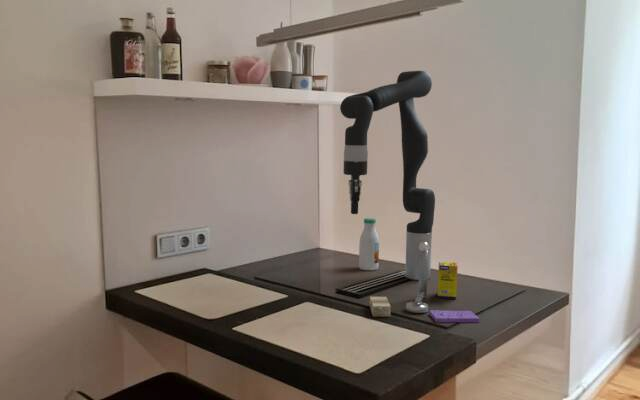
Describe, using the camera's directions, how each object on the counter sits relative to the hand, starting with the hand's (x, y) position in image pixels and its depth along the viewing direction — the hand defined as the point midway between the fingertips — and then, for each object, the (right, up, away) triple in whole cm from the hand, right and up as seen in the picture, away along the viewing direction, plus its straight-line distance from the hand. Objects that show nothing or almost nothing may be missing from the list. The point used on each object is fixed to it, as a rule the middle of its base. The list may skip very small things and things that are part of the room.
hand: (354, 213), depth 178 cm
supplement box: (+31, -27, +4) cm, 41 cm away
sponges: (+28, -30, -18) cm, 45 cm away
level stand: (+7, -29, -13) cm, 32 cm away
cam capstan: (+20, -28, -7) cm, 35 cm away
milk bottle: (+8, -23, +42) cm, 48 cm away
